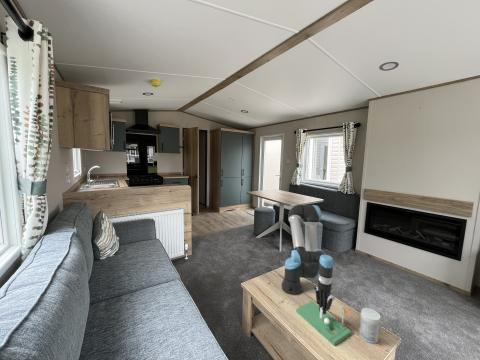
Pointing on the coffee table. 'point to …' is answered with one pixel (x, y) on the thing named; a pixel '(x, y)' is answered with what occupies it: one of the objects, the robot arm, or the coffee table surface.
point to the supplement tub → (370, 325)
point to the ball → (326, 321)
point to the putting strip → (313, 318)
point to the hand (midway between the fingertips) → (322, 317)
